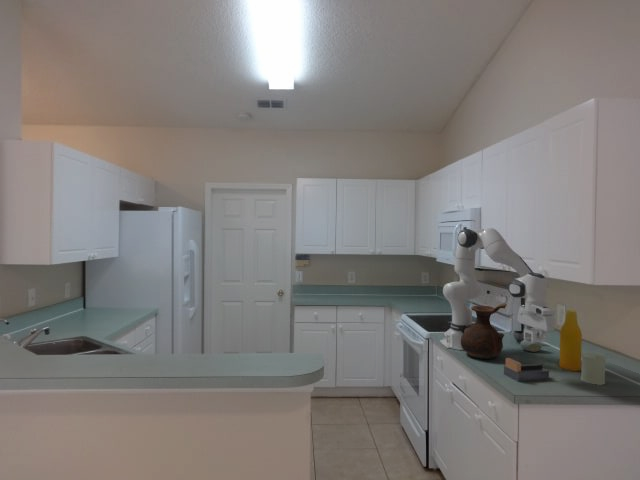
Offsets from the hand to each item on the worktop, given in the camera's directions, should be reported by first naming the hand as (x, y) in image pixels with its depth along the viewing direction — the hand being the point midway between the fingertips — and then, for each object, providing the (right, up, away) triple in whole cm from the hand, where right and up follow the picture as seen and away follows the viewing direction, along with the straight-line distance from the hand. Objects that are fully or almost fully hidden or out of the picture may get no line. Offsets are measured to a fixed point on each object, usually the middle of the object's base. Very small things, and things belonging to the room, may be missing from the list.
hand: (534, 336), depth 188 cm
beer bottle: (+24, -19, +12) cm, 33 cm away
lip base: (-4, -19, -1) cm, 19 cm away
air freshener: (+21, -19, +43) cm, 52 cm away
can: (+24, -19, -5) cm, 31 cm away
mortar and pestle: (+24, -19, +58) cm, 66 cm away
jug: (-12, -18, +31) cm, 38 cm away
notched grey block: (0, -2, 0) cm, 2 cm away
